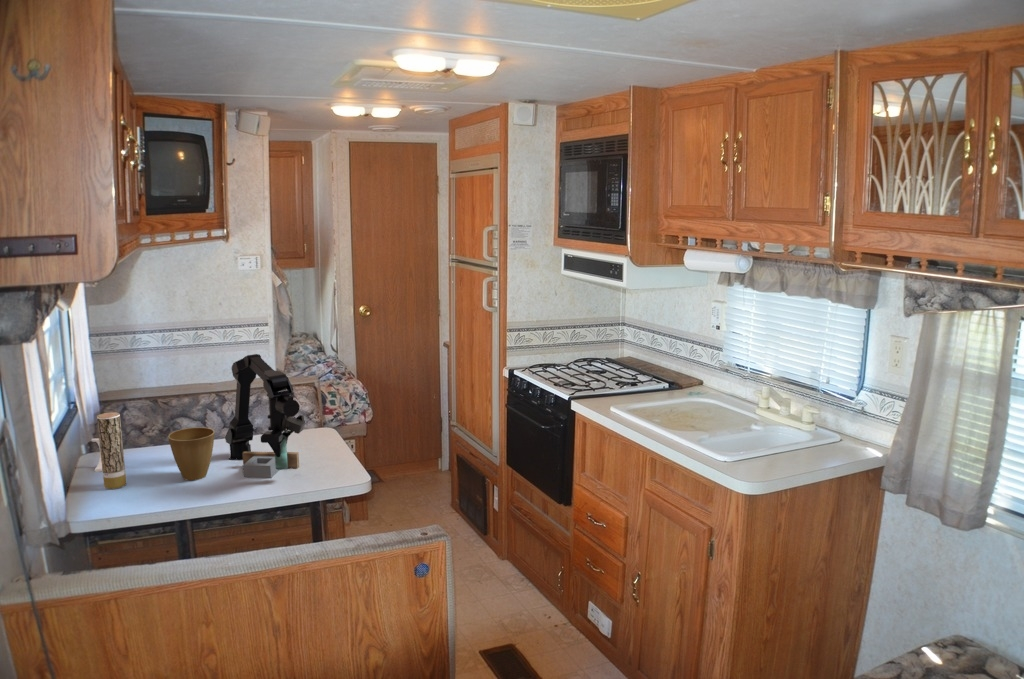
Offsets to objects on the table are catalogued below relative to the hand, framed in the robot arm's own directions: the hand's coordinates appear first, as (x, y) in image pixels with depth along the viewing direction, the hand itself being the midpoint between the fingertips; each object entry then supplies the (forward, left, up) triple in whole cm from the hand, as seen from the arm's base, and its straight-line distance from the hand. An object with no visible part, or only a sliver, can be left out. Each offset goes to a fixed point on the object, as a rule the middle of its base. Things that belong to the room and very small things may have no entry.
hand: (280, 455), depth 265 cm
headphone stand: (-69, +9, -10) cm, 70 cm away
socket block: (-10, +8, -9) cm, 16 cm away
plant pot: (-32, +2, -10) cm, 34 cm away
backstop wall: (-9, +14, -9) cm, 19 cm away
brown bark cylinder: (-55, -8, -10) cm, 56 cm away
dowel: (0, 0, -5) cm, 5 cm away
